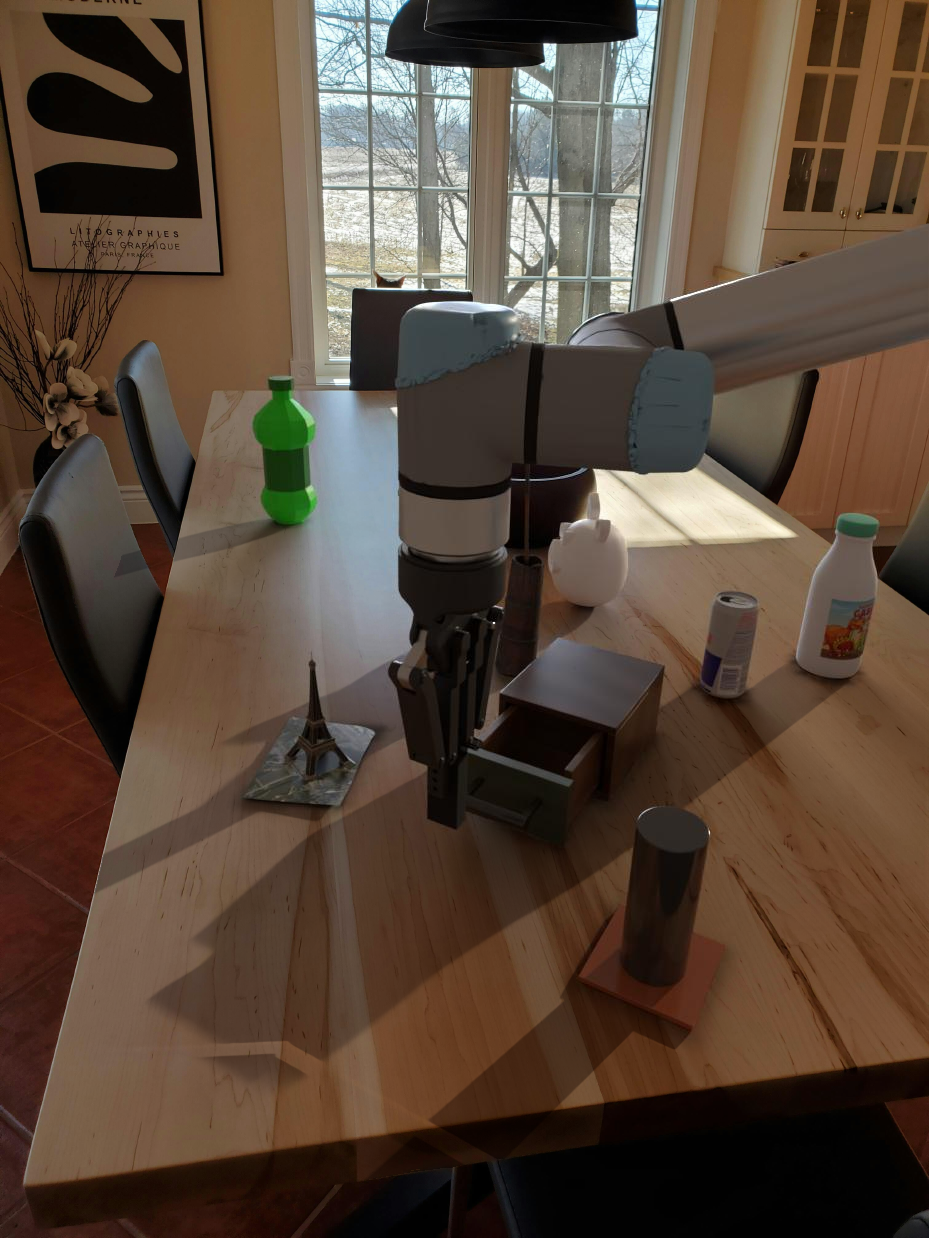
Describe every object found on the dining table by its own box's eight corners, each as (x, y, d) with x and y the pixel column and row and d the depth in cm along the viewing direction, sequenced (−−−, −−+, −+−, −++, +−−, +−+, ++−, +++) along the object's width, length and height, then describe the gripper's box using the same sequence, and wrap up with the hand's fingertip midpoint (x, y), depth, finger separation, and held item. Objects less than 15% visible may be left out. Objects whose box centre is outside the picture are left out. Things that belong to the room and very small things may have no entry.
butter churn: (564, 688, 109) (582, 464, 97) (486, 690, 108) (494, 464, 96) (552, 652, 117) (567, 441, 105) (479, 653, 117) (486, 441, 104)
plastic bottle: (327, 512, 165) (320, 374, 154) (305, 532, 155) (296, 386, 145) (276, 507, 167) (266, 370, 156) (251, 526, 157) (238, 381, 147)
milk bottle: (791, 671, 114) (821, 522, 105) (798, 646, 120) (827, 504, 112) (856, 685, 111) (892, 533, 102) (860, 659, 117) (895, 513, 109)
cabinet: (608, 801, 89) (616, 728, 85) (496, 763, 95) (499, 692, 91) (656, 732, 101) (665, 665, 97) (553, 701, 106) (558, 637, 102)
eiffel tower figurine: (289, 720, 102) (281, 613, 96) (377, 728, 101) (374, 621, 95) (242, 801, 88) (229, 683, 82) (343, 811, 87) (337, 692, 81)
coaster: (725, 949, 72) (726, 944, 72) (692, 1031, 65) (692, 1026, 65) (619, 907, 76) (620, 903, 76) (577, 980, 69) (577, 975, 69)
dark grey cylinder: (695, 951, 71) (718, 820, 66) (674, 997, 67) (698, 861, 62) (632, 926, 74) (650, 797, 68) (609, 969, 70) (626, 836, 64)
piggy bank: (531, 591, 135) (536, 495, 128) (602, 582, 138) (610, 489, 132) (564, 626, 124) (572, 524, 118) (640, 616, 128) (652, 516, 121)
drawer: (543, 875, 78) (548, 812, 75) (432, 831, 83) (432, 771, 80) (617, 772, 92) (623, 716, 89) (517, 740, 97) (520, 686, 94)
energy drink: (706, 673, 113) (720, 586, 108) (749, 684, 111) (765, 596, 106) (693, 691, 109) (707, 602, 104) (738, 704, 107) (754, 613, 101)
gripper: (453, 507, 68) (447, 764, 78) (351, 561, 58) (360, 849, 68) (543, 526, 65) (524, 792, 75) (452, 587, 55) (445, 885, 65)
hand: (446, 819), depth 72 cm, fingers closed
